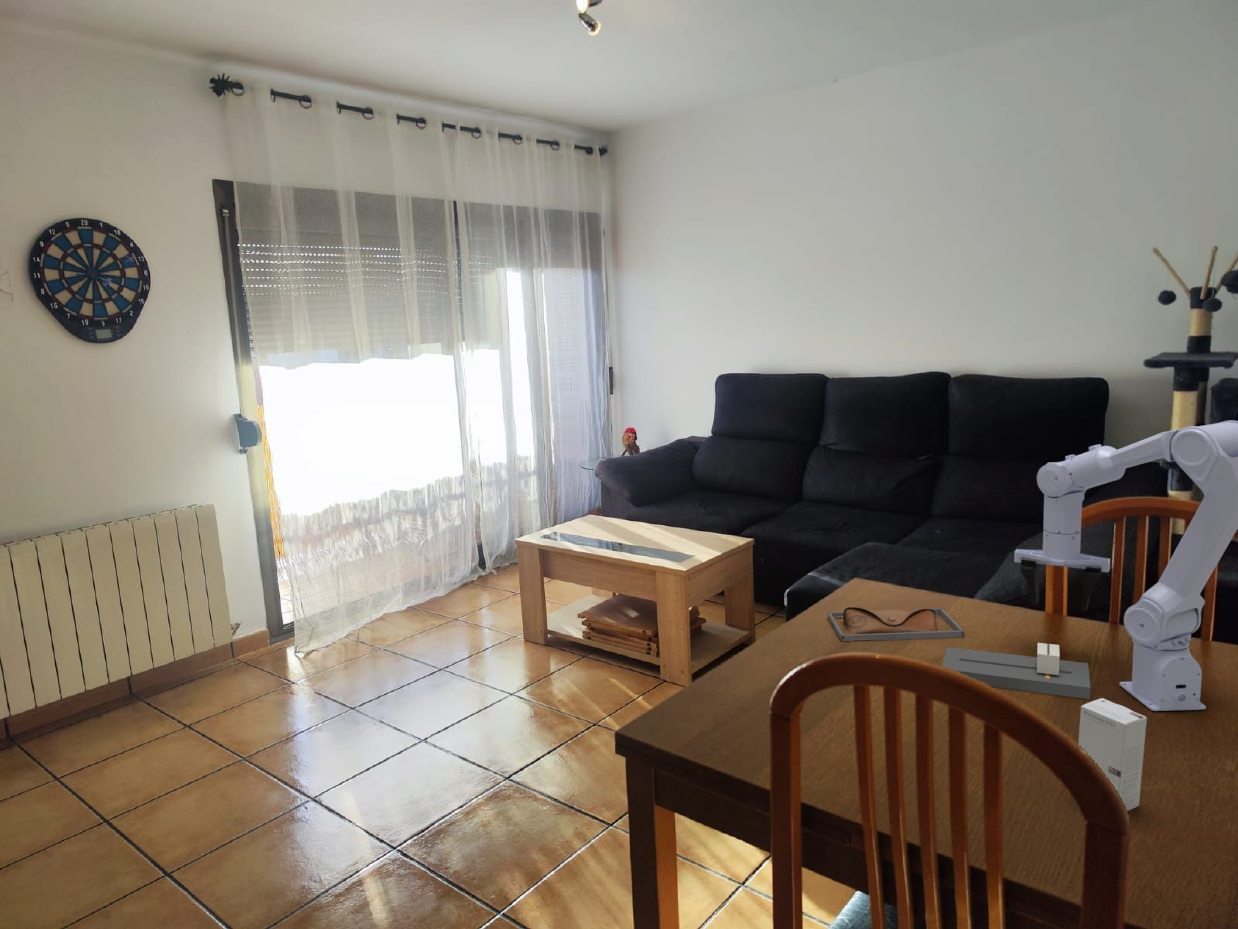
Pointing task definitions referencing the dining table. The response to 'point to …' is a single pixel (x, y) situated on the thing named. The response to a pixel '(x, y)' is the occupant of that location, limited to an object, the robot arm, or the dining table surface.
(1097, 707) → the skincare box
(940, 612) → the case rim
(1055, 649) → the fader
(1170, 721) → the dining table surface
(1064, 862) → the dining table surface
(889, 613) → the sunglasses case
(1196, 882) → the dining table surface
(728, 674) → the dining table surface
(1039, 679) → the fader panel
